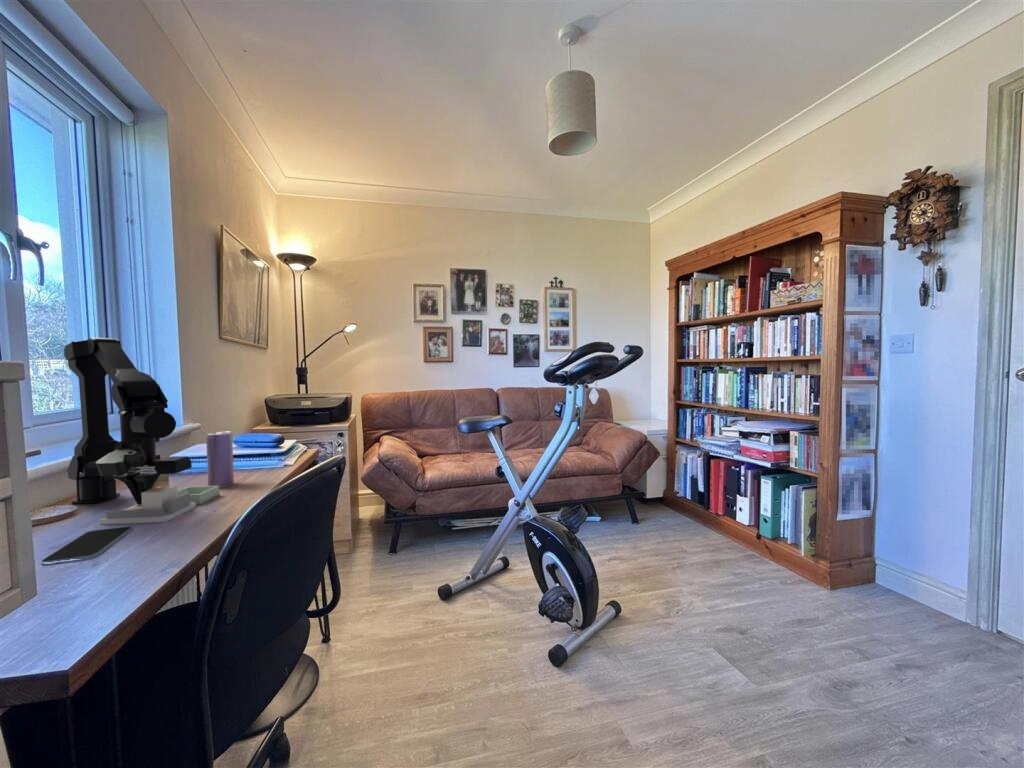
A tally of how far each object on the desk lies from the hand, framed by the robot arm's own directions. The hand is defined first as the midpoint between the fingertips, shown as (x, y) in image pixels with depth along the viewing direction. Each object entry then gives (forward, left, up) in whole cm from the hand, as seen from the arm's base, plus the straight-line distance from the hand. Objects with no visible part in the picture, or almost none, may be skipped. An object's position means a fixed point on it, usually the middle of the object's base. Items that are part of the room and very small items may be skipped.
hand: (141, 503), depth 94 cm
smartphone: (+3, -16, -3) cm, 16 cm away
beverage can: (+4, +23, -3) cm, 24 cm away
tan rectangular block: (-5, +12, -3) cm, 13 cm away
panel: (+2, 0, -3) cm, 3 cm away
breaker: (+4, 0, -1) cm, 4 cm away
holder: (+5, +10, -3) cm, 11 cm away
